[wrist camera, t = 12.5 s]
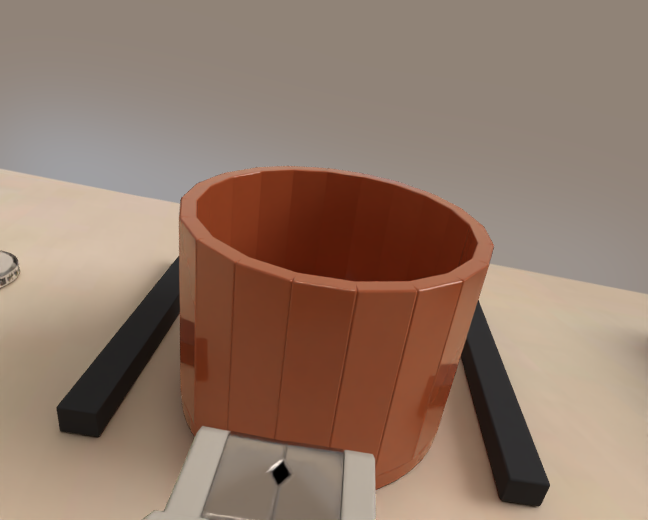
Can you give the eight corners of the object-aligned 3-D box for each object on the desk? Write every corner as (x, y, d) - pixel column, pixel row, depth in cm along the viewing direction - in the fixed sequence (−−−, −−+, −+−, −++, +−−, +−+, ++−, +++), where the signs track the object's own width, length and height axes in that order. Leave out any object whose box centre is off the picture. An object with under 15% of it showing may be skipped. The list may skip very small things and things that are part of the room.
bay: (540, 508, 18) (551, 485, 17) (59, 431, 18) (55, 407, 18) (470, 306, 30) (475, 290, 30) (185, 263, 31) (185, 246, 30)
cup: (128, 377, 21) (114, 191, 17) (306, 294, 29) (323, 154, 25) (324, 567, 15) (370, 343, 11) (481, 395, 23) (539, 231, 19)
